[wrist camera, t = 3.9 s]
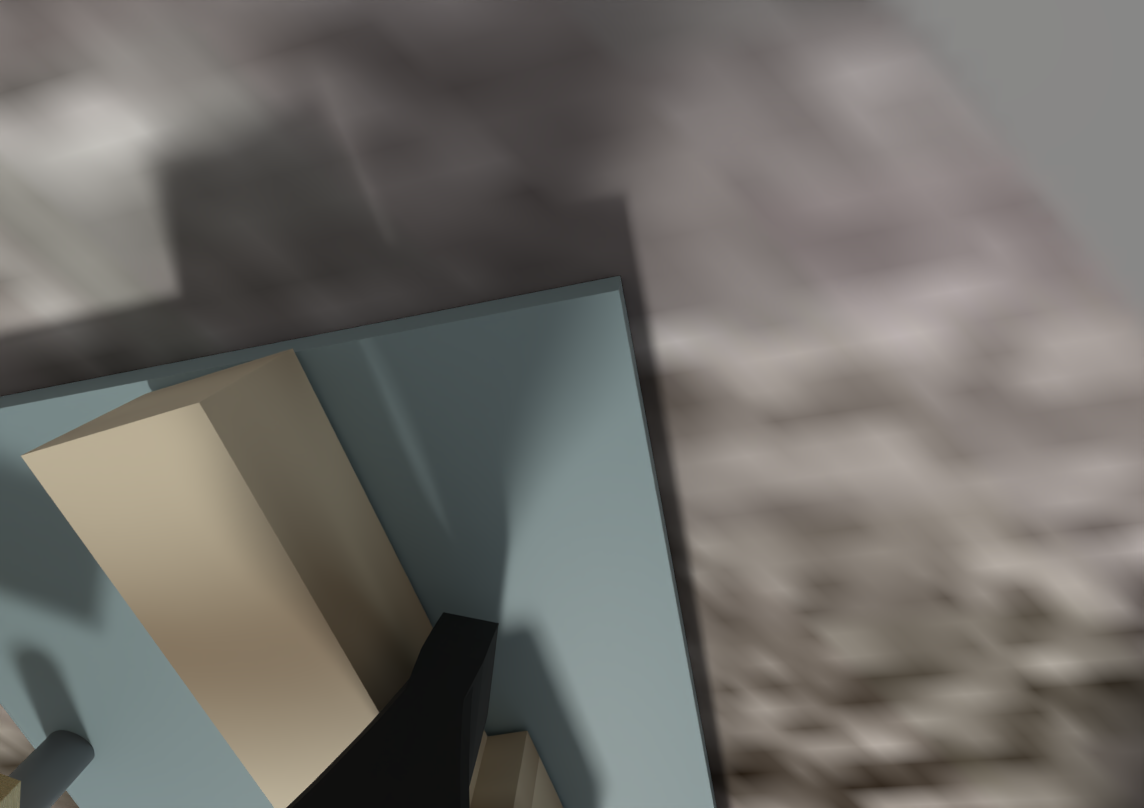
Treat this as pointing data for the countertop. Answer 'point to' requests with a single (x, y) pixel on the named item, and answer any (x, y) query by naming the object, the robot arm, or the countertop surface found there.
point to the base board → (423, 546)
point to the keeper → (9, 792)
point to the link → (260, 570)
